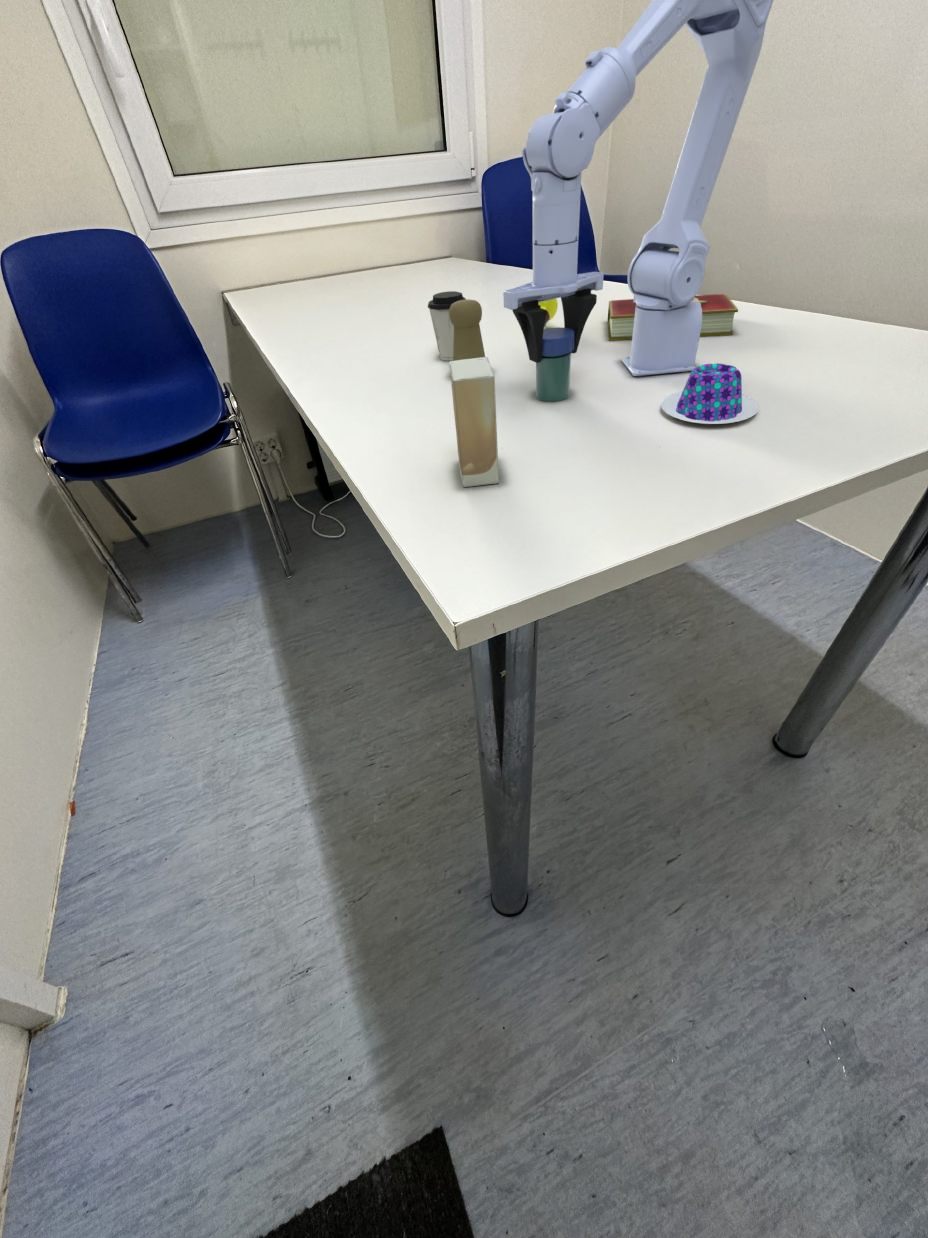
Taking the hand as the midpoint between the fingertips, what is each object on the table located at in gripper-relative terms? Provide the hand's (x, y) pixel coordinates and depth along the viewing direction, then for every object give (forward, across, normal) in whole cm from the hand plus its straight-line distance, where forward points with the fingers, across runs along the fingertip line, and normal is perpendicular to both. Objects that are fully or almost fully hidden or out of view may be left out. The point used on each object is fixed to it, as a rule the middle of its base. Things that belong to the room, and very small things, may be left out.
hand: (552, 356), depth 77 cm
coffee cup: (+6, -3, +28) cm, 29 cm away
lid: (-3, 0, 0) cm, 3 cm away
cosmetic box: (+6, -21, -15) cm, 26 cm away
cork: (+6, -5, +17) cm, 19 cm away
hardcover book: (+6, +35, +14) cm, 38 cm away
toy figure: (+6, +18, +30) cm, 36 cm away
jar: (+6, 0, 0) cm, 6 cm away
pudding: (+6, +12, -18) cm, 23 cm away
